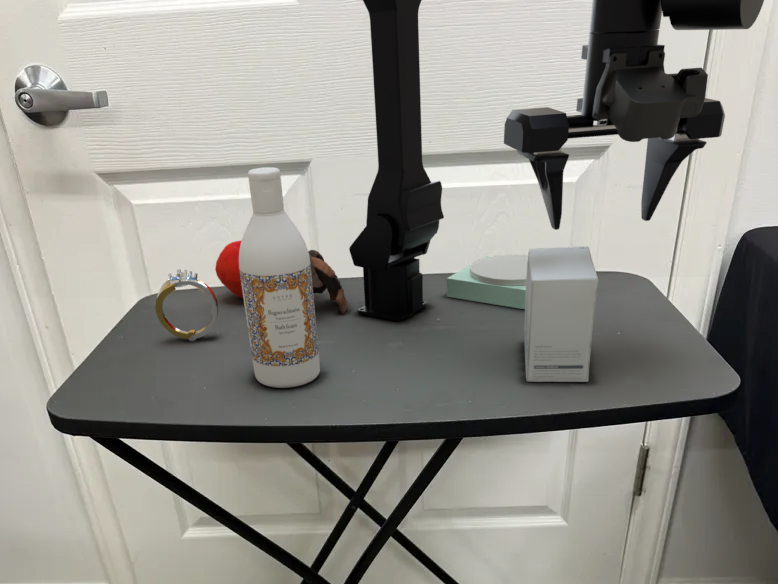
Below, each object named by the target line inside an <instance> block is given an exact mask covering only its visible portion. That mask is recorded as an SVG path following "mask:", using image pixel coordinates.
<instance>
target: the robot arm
mask: <svg viewBox="0 0 778 584" xmlns="http://www.w3.org/2000/svg"><path fill="white" fill-rule="evenodd" d="M362 2H363V4H364V6H365V8H366V10H367V13H368V16H369V27H370V28H369V30H370V45H371V46H370V47H371V62H372V63H371V64H372V80H373V82H372V83H373V97H374V98H373V99H374V114H375V115H374V116H375V131H376V132H375V135H376V149H377V171H376V172H377V173H376V175H375V177H374V180H373V183H372V186H371V187H370V190H369V193H368V196H367V202H366V203H367V205H366V221H365V227H364V228H363V229H362V231H361V232H360V233H359V234H358V236H357V237H356V238H355V240H354V241H353V242H352V243H351V245H350V246H349V248H348V250H349V253H350V256H351V257H350V258H351V260H352V263H353V265H354V267H358V268H362V274H363V275H362V276H363V294H364V305H363V306H361V307H359V308H358V309H357V313H358V315H364V316H370V317H375V318H380V319H386V320H391V321H396V322H401V321H404V320H406V319H407V318H409V317H411V316H412V315H414V314H416V313H417V312H419V311H421V310H422V309H424V308H426V307H427V305H428V304H427V303H428V302H427V301H425V300H424V284H423V283H424V281H423V280H424V277H423V273H422V272H420V270H421V269H420V259H419V258H418V257H419V256H424V255H426V254H427V253H428V251H429V247H430V244H431V240H432V239H433V238H434V237H435V235H436V234H438V231H439V227H440V221H441V220H443V219H444V218H445V215H444V212H443V208H442V195H443V185H442V182H441V181H440V180H437V181H431V179H430V176H429V175H428V173H427V171H426V169H425V168H424V163H423V138H422V137H423V136H422V105H421V71H420V70H421V68H420V35H419V32H420V31H419V30H420V29H419V9H420V6H421V4H422V0H362ZM764 2H765V0H592V5H591V13H590V14H591V15H590V23H589V33H588V43H587V44H584V45H581V58H580V59H581V60H586V64H585V74H584V83H583V93H582V94H583V95H582V98H581V97H580V98H577V99H576V112H578V113H581V114H572V115H568V114H567V112H564V111H560V110H557V109H555V108H552V107H548V106H544V107H533V108H520V109H512V110H511V111H510V113H509V114H508V116H507V117H506V118H505V122H504V129H503V144H504V145H506V146H508V147H510V148H512V149H514V150H516V153H517V154H518V155H520V156H522V157H524V158H526V159H528V161H529V164H530V165H531V166H530V167H531V168H532V171H533V173H534V176H535V177H536V180H537V183H538V186H539V189H540V193H541V195H542V199H543V203H544V207H545V209H546V213H547V216H548V219H549V220H548V221H549V223H550V226H551V228H552V229H553V230H556V231H557V230H559V229H560V227H561V222H562V221H561V220H562V216H563V215H562V214H563V194H564V193H563V192H564V191H563V188H564V170H565V168H566V165H567V163H568V160H569V157H570V154H569V153H567V152H565V151H562V147H564V145H565V144H566V143H567V142H568V141H569V140H570V139H581V138H592V137H593V138H594V137H604V136H617V135H618V136H619V138H620V139H621V140H624V141H626V142H630V143H638V142H641V141H642V140H647V141H646V142H647V143H646V154H645V161H644V172H643V181H642V191H641V203H640V204H641V206H640V207H641V210H640V211H641V215H640V216H641V220H642V221H644V222H648V221H649V222H650V221H651V219H652V217H653V215H654V213H655V211H656V209H657V208H658V205H659V204H660V202H661V200H662V197H663V196H664V194H665V192H666V190H667V188H668V186H669V184H670V182H671V180H672V178H673V177H674V175H675V173H676V171H677V170H678V168H679V167H680V165H681V164H682V162H684V160H685V159H686V158H688V157H689V156H690V155H691V154H692V153H694V152H695V151H697V150H700V149H704V148H705V146H706V145H707V141H705V140H702V139H712V138H720V137H722V134H723V129H724V122H725V119H726V114H725V110H724V106H723V104H722V102H721V100H717V99H713V98H706V94H707V88H708V87H707V86H708V78H709V74H708V73H707V72H706V71H705V69H703V67H691V68H689V67H688V68H681V69H680V70H679V71H678V72H677V73H666V71H665V58H666V53H665V46H666V45H665V44H658V42H659V37H660V36H659V35H660V28H661V23H662V17H663V18H669V23H670V25H671V27H672V29H674V30H675V31H702V30H703V31H710V30H711V31H715V30H719V31H721V30H749V29H750V28H751V27H753V25H754V23H756V21H757V19H758V17H759V15H760V12H761V10H762V8H763V5H764Z"/></svg>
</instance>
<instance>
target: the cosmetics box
mask: <svg viewBox="0 0 778 584" xmlns="http://www.w3.org/2000/svg"><path fill="white" fill-rule="evenodd" d="M527 255H528V263H527V277H526V296H525V309H524V326H523V327H524V328H523V329H524V332H523V337H524V361H525V362H524V364H525V365H524V366H525V381H526V382H529V383H547V382H548V383H550V382H551V383H552V382H553V383H588V382H589V379H590V378H589V376H590V364H591V363H590V362H591V350H592V340H593V332H594V331H593V330H594V329H593V328H594V320H595V312H596V303H597V295H598V288H599V277H598V274H597V271H596V268H595V264H594V261H593V258H592V254H591V250H590V247H589V246H588V245H585V246H583V245H582V246H565V247H540V248H538V247H537V248H529V249H528V254H527Z"/></svg>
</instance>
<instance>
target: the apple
mask: <svg viewBox="0 0 778 584" xmlns="http://www.w3.org/2000/svg"><path fill="white" fill-rule="evenodd" d="M241 241H242V240H236V241H231V242H230V243H228V244H227V245H225V247H224V248H223V250H221V252H220V253H219V255H218V256H217V257H218V258H217V259H216V261H215V270H214V271H215V274H216V276H217V278H218V280H219V281H220V283H221V284H222V285H223V286H224V287H225V288H227V289H228V290H229V291H230V292H231V293H232V294H234V296H236V297H238V298H241V299H243V292H242V285H241V278H240V271H239V250H240V244H241Z"/></svg>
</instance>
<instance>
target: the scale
mask: <svg viewBox="0 0 778 584" xmlns="http://www.w3.org/2000/svg"><path fill="white" fill-rule="evenodd" d="M527 263H528V254H499V255H492V256H491V255H485V256H483V257H482V258H480V259H477V260H475V261H474V262H472V263H471V264H469V265H467V266H466V267H464V268H462V269H461V270H459V271H457V272H455V273H453V274H452V275H449V277H447V278H446V298H453V299H459V300H464V301H471V302H476V303H483V304H489V305H497V306H501V307H508V308H514V309H521V310H525V296H526V277H527Z"/></svg>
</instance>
